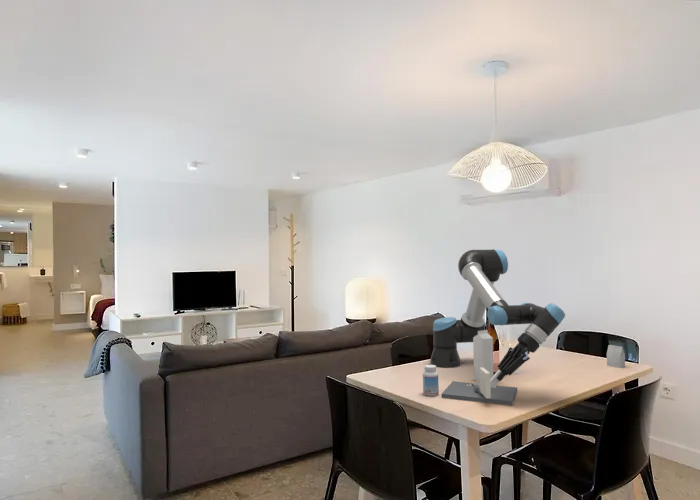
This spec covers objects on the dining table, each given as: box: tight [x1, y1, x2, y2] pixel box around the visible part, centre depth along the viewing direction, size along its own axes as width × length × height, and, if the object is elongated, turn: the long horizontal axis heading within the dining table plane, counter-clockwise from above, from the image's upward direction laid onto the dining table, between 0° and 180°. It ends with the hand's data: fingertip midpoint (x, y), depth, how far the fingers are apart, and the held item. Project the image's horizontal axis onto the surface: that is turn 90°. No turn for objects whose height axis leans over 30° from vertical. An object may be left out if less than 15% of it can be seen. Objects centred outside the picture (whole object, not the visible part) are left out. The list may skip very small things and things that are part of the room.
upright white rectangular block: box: [470, 368, 491, 398], centre depth 182 cm, size 25×4×10 cm, turn 179°
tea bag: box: [606, 344, 626, 369], centre depth 227 cm, size 4×7×10 cm, turn 31°
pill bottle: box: [422, 364, 440, 397], centre depth 186 cm, size 6×6×11 cm
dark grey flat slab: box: [441, 380, 518, 406], centre depth 184 cm, size 26×20×2 cm
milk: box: [472, 329, 495, 382], centre depth 205 cm, size 6×6×22 cm
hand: (490, 385), depth 173 cm, fingers closed
